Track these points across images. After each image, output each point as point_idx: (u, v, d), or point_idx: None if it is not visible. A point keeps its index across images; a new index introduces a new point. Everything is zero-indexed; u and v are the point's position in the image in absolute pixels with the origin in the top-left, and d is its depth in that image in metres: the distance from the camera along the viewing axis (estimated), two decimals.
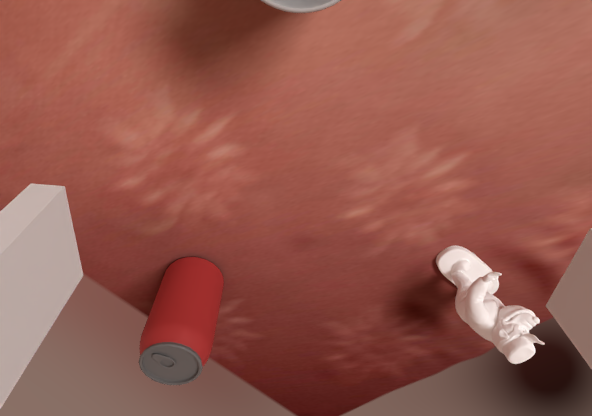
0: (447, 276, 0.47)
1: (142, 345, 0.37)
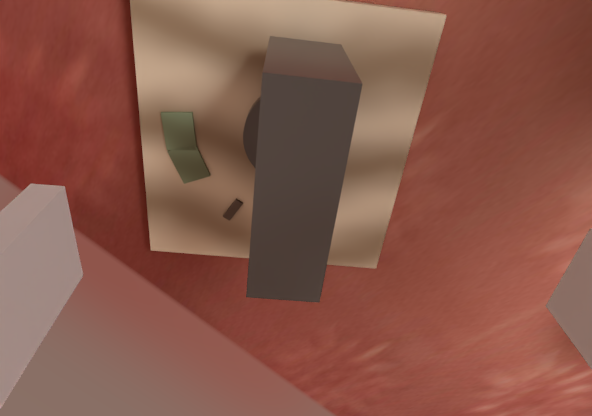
0: None
1: None
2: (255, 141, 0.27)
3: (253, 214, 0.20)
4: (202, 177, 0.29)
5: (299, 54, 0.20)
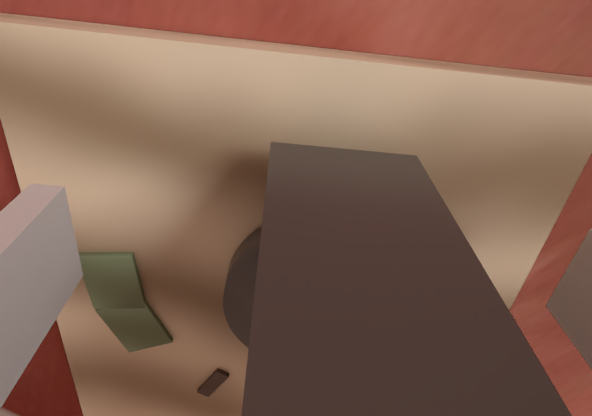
0: None
1: None
2: (246, 310, 0.15)
3: None
4: (159, 343, 0.17)
5: (343, 230, 0.08)
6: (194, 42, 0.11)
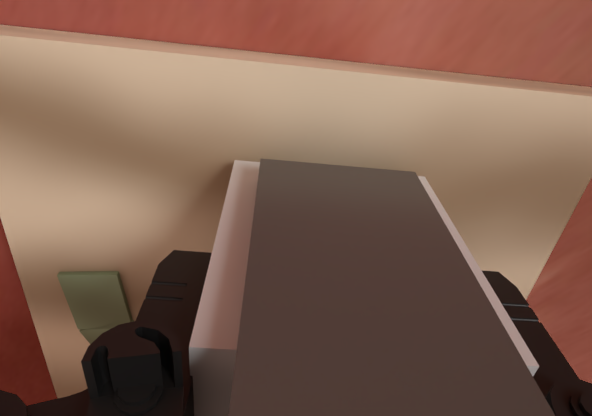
0: None
1: None
2: None
3: None
4: None
5: (337, 261, 0.07)
6: (179, 53, 0.11)
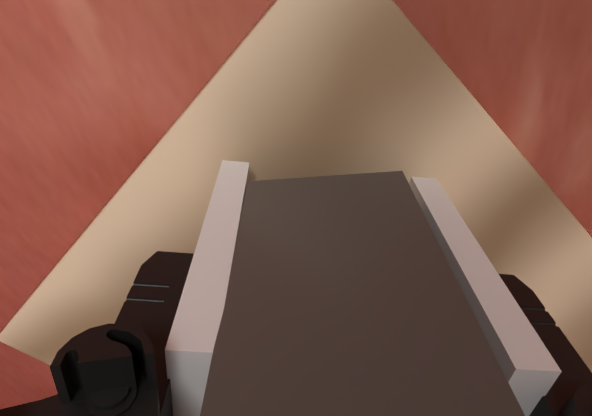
0: None
1: None
2: None
3: None
4: None
5: (313, 276, 0.07)
6: (69, 251, 0.14)
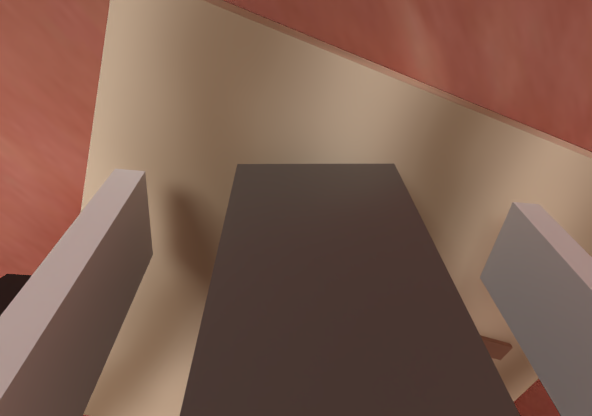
0: None
1: None
2: None
3: None
4: None
5: (304, 261, 0.07)
6: None
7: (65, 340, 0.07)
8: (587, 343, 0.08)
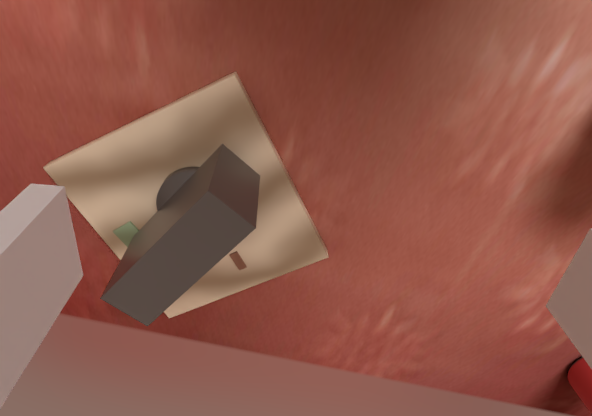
0: None
1: None
2: (169, 192, 0.35)
3: (145, 254, 0.28)
4: None
5: (233, 177, 0.30)
6: (100, 139, 0.34)
7: None
8: None
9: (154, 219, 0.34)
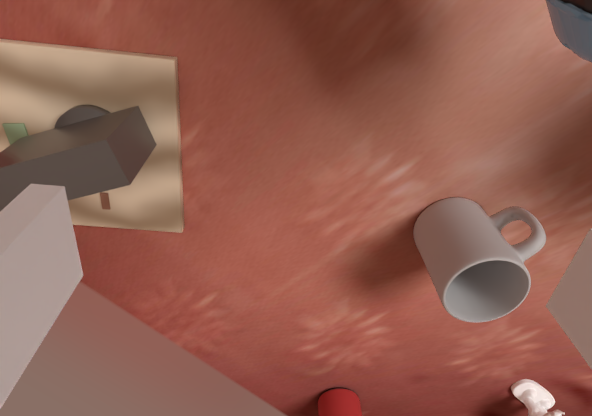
0: (518, 398, 0.66)
1: None
2: (72, 118, 0.39)
3: (27, 161, 0.32)
4: None
5: (132, 137, 0.36)
6: (32, 45, 0.37)
7: None
8: None
9: (48, 134, 0.38)
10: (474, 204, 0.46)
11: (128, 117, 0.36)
